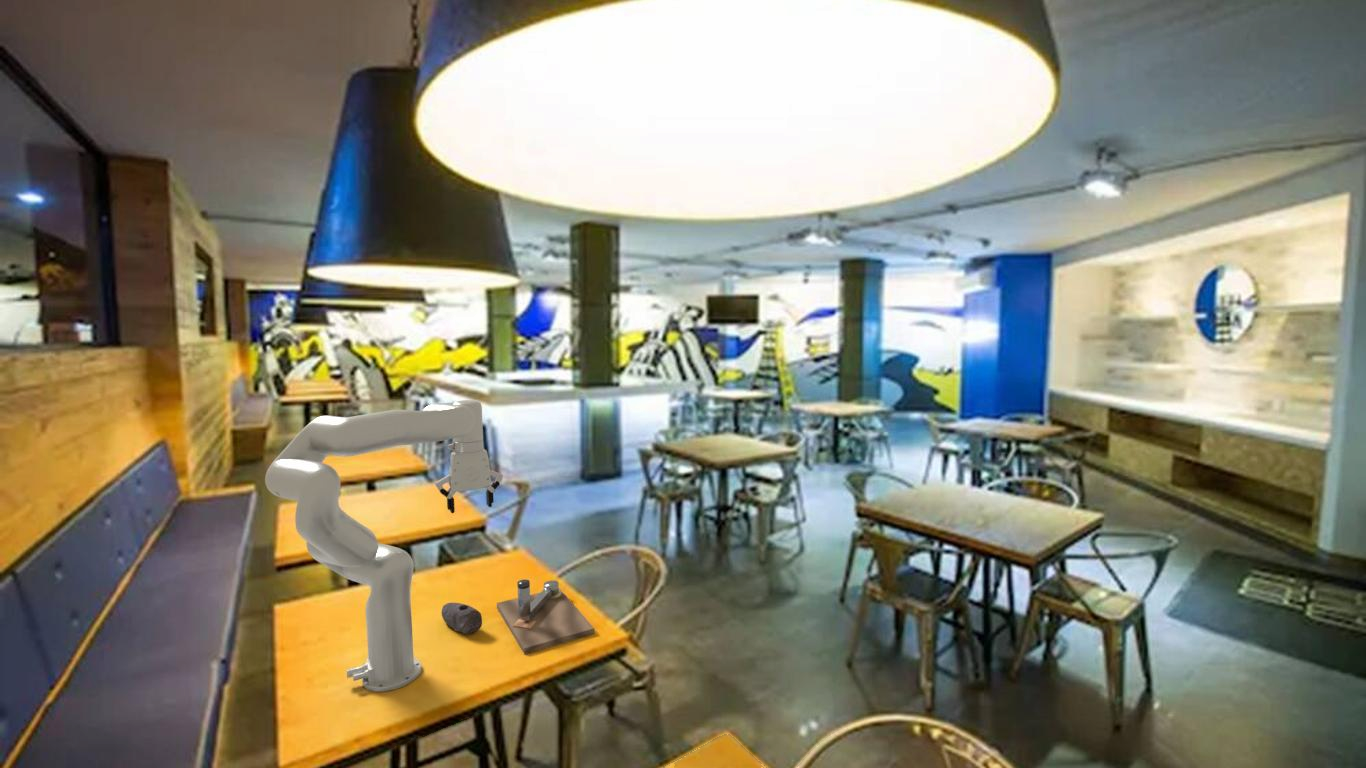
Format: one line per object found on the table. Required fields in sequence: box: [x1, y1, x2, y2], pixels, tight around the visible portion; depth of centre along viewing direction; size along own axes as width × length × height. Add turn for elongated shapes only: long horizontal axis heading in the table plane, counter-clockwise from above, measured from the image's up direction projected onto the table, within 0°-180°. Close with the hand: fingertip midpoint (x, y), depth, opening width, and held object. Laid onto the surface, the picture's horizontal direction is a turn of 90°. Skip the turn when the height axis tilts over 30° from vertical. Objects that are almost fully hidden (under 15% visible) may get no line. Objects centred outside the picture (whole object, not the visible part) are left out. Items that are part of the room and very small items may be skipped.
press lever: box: [516, 579, 560, 621], centre depth 170 cm, size 4×22×11 cm, turn 169°
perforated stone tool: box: [441, 602, 483, 635], centre depth 162 cm, size 15×5×7 cm, turn 54°
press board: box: [496, 587, 595, 655], centre depth 167 cm, size 19×28×2 cm
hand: (470, 508), depth 160 cm, fingers open, 9 cm apart
